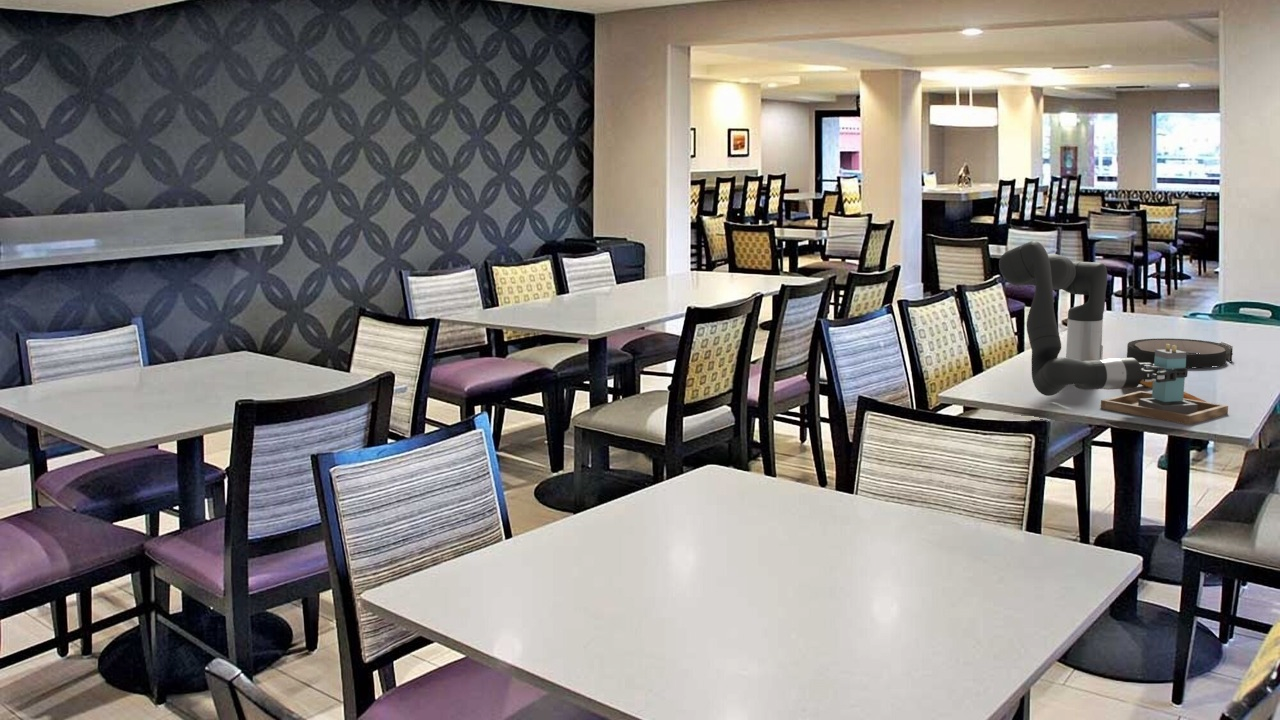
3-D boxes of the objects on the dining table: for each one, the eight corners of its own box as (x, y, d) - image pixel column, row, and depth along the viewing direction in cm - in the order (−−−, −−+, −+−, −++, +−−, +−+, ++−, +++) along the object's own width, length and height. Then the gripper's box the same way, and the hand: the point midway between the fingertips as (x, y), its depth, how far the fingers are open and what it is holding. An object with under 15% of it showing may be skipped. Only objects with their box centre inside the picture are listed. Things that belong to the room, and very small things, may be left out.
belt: (1252, 368, 336) (1253, 351, 335) (1150, 370, 336) (1151, 353, 335) (1205, 351, 365) (1206, 336, 364) (1111, 353, 365) (1112, 337, 364)
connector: (1151, 397, 283) (1155, 343, 280) (1170, 396, 283) (1174, 343, 281) (1164, 401, 278) (1168, 347, 275) (1183, 400, 279) (1187, 346, 276)
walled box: (1139, 400, 296) (1140, 390, 296) (1227, 415, 278) (1228, 405, 277) (1100, 409, 287) (1101, 400, 286) (1188, 426, 268) (1189, 416, 268)
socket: (1138, 408, 285) (1138, 398, 285) (1172, 406, 287) (1173, 396, 286) (1161, 416, 276) (1162, 406, 275) (1197, 414, 277) (1197, 404, 277)
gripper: (1134, 363, 269) (1199, 360, 272) (1100, 353, 283) (1162, 350, 286) (1132, 394, 271) (1197, 391, 274) (1098, 383, 285) (1160, 380, 287)
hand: (1179, 370), depth 280 cm, fingers closed on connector, 5 cm apart
